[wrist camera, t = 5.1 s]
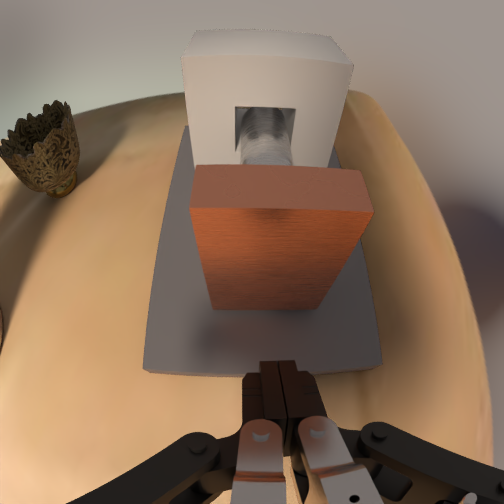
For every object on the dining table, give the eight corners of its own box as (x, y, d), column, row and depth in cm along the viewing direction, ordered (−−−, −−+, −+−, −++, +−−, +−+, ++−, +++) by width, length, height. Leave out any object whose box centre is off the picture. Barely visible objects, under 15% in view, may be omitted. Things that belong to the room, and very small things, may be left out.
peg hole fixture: (150, 372, 16) (31, 296, 6) (186, 137, 28) (173, 26, 18) (372, 368, 17) (507, 291, 7) (325, 140, 28) (349, 34, 18)
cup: (95, 152, 27) (73, 90, 20) (98, 199, 23) (64, 128, 17) (37, 177, 25) (7, 122, 18) (31, 227, 22) (-12, 168, 15)
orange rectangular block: (212, 310, 17) (189, 207, 9) (221, 169, 23) (216, 64, 15) (316, 309, 17) (374, 212, 9) (297, 170, 23) (316, 68, 15)
